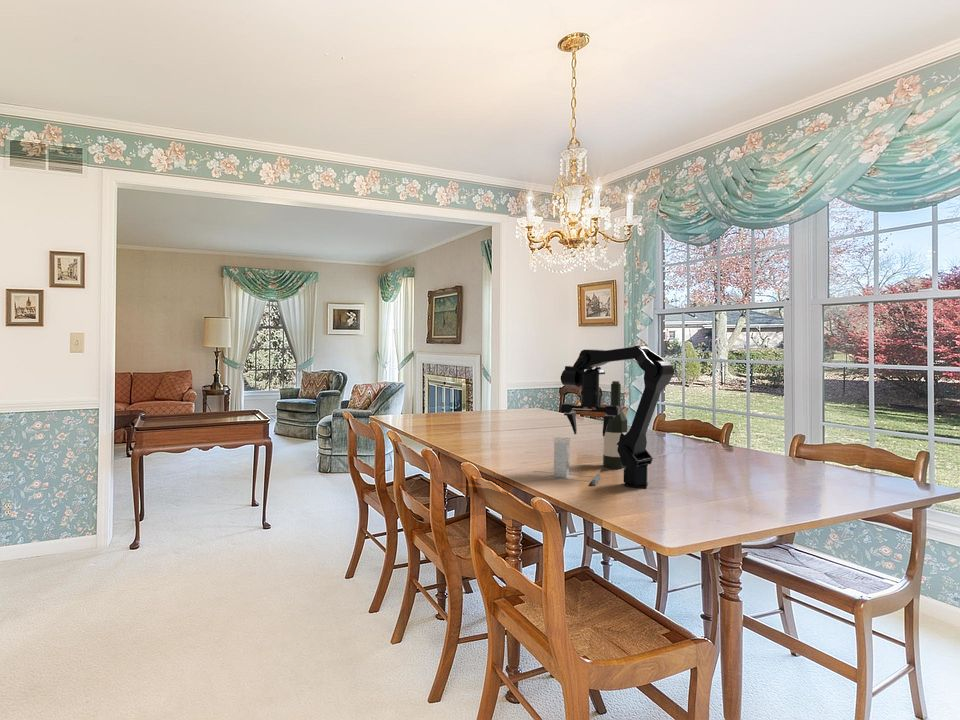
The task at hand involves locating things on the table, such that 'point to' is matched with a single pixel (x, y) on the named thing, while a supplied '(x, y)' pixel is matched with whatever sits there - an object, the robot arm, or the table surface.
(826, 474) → the table surface
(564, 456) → the post
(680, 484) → the table surface
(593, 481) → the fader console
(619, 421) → the wine bottle
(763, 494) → the table surface
